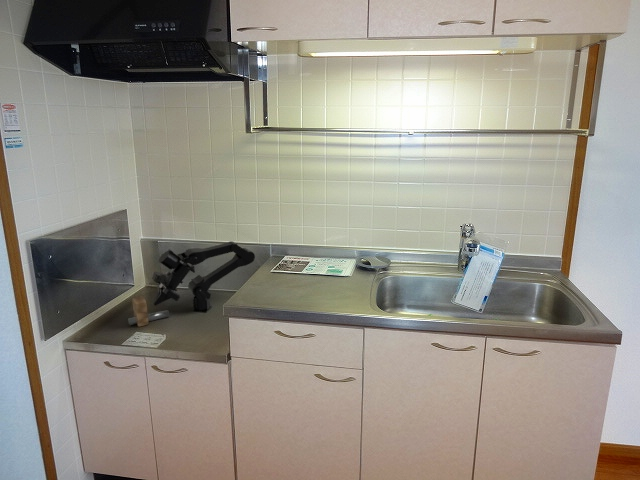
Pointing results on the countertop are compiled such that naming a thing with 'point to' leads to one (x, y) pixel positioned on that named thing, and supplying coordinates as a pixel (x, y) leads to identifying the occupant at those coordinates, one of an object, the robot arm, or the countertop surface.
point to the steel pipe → (150, 317)
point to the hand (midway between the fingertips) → (154, 304)
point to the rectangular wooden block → (140, 310)
